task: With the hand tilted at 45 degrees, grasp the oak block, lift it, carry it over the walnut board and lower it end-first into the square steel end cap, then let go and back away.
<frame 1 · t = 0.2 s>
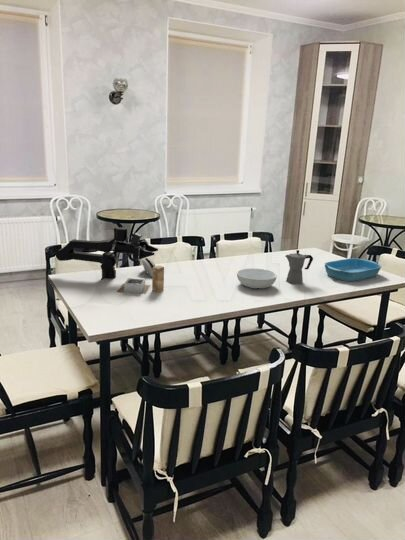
hand: (156, 251, 227), 17 cm above the table, tool horizontal, fingers open, 9 cm apart
casserole dish: (351, 276, 263), on the table
steel end cap: (134, 290, 216), resting on walnut board
coffeepot: (296, 282, 245), on the table
serving bowl: (255, 286, 235), on the table
grey napkin holder: (150, 274, 247), on the table
walnut board: (133, 290, 218), on the table
oak block: (157, 292, 217), on the table
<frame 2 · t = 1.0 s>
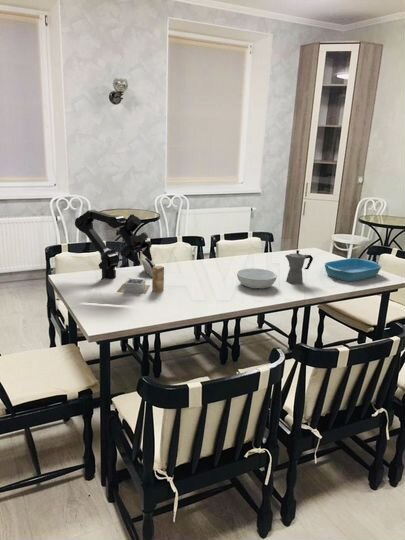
hand: (145, 262, 218), 14 cm above the table, tool tilted 45°, fingers open, 9 cm apart
nothing on the table moved.
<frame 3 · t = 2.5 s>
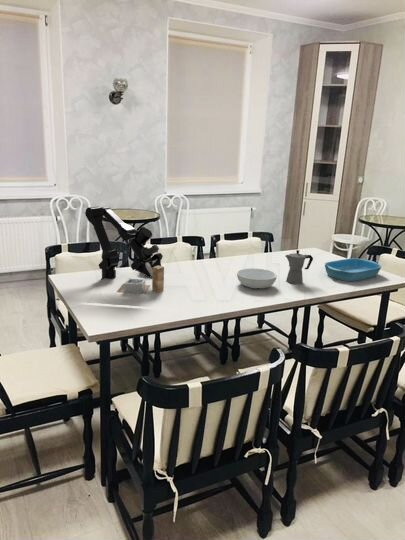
hand: (156, 275, 215), 9 cm above the table, tool tilted 45°, fingers open, 9 cm apart
nothing on the table moved.
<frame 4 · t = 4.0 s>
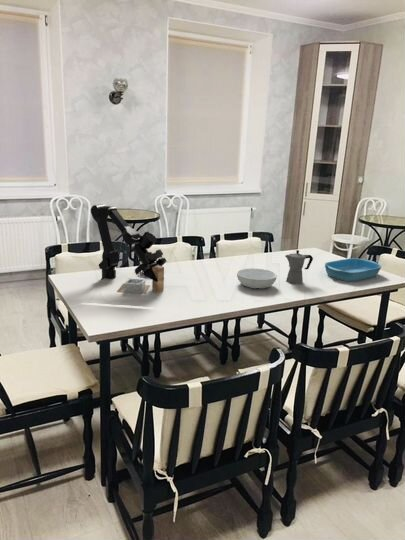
hand: (160, 280, 215), 7 cm above the table, tool tilted 45°, fingers closed on oak block, 4 cm apart
oak block: (157, 292, 217), on the table, touching gripper
everything else where it was.
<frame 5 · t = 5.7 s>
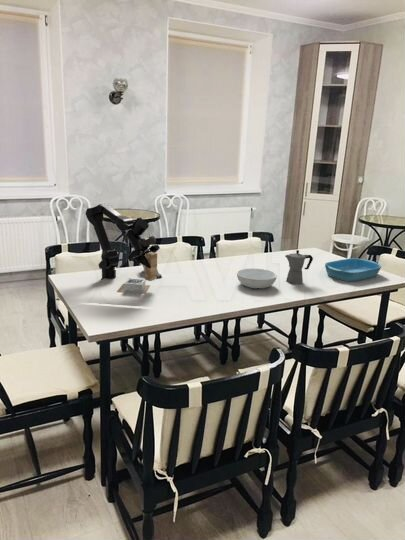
hand: (153, 266, 213), 13 cm above the table, tool tilted 45°, fingers closed on oak block, 4 cm apart
oak block: (150, 279, 215), point 7 cm above the table, touching gripper
everything else where it was.
when the fingers open (9 cm above the table, at t = 7.8 s): oak block stays where it is, resting on steel end cap.
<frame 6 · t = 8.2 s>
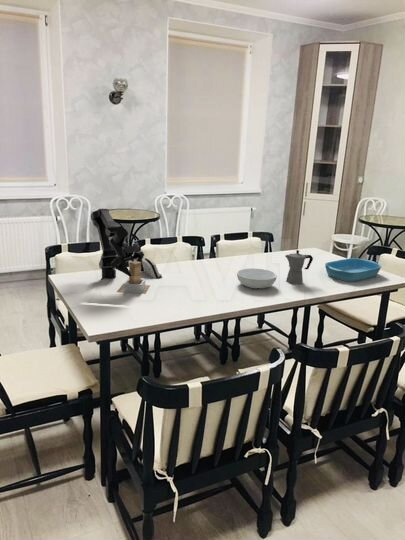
hand: (137, 273, 213), 10 cm above the table, tool tilted 45°, fingers open, 9 cm apart
oak block: (135, 288, 216), point 2 cm above the table, touching steel end cap
everything else where it was.
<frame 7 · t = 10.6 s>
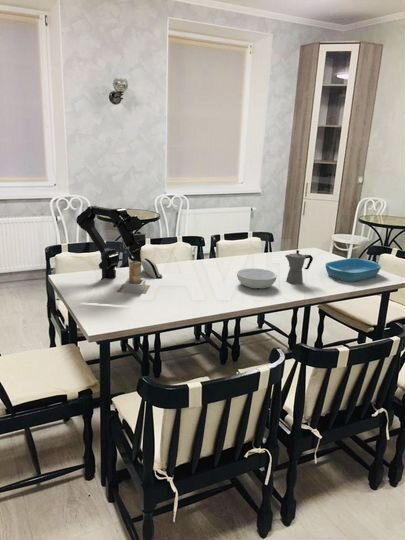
hand: (138, 260, 226), 12 cm above the table, tool tilted 25°, fingers open, 9 cm apart
nothing on the table moved.
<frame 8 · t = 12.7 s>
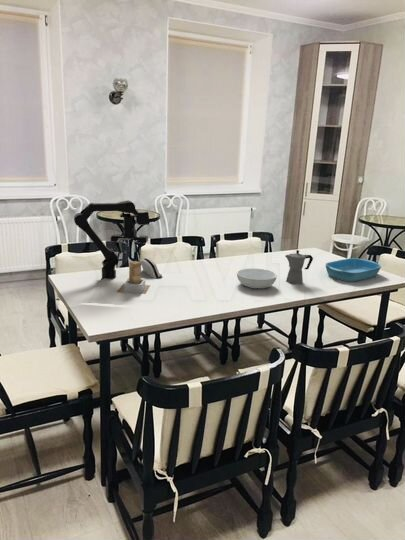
hand: (129, 254, 234), 13 cm above the table, tool pointing down, fingers open, 9 cm apart
nothing on the table moved.
at the end: oak block 0.0 cm off-centre on the steel end cap, point 1.0 cm above the steel end cap's base; oak block tilted 0°; the gripper is holding nothing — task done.
